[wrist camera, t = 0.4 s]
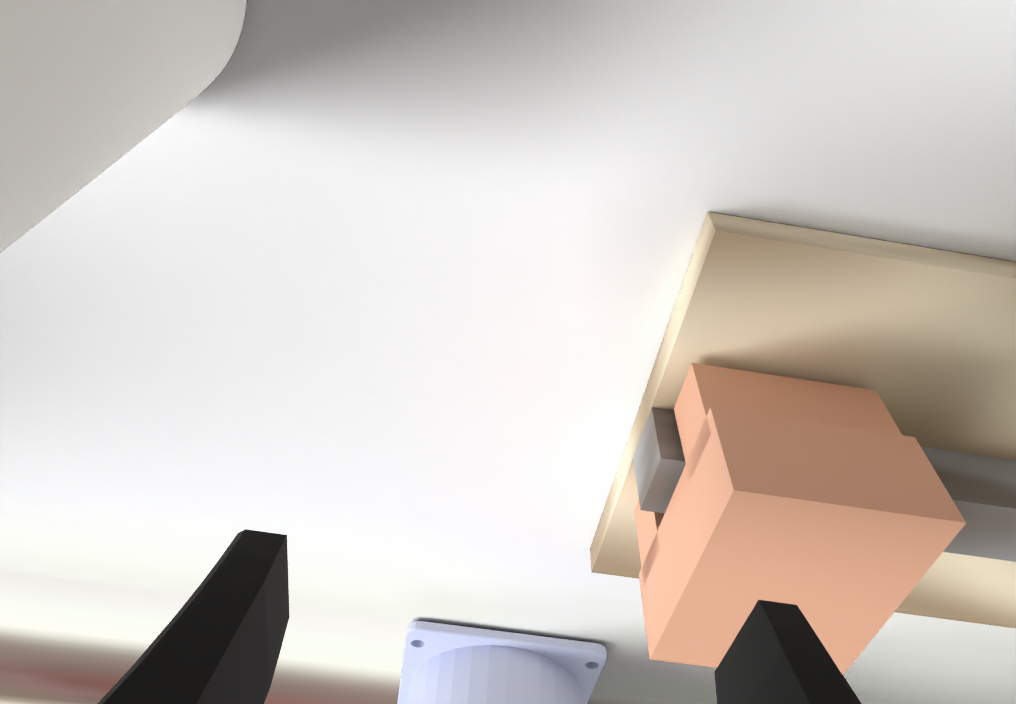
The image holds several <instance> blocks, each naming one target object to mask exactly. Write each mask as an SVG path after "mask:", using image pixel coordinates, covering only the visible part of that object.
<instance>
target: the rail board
mask: <svg viewBox="0 0 1016 704" xmlns="http://www.w3.org/2000/svg"><path fill="white" fill-rule="evenodd" d="M691 363H697V364H703V365H710V366H717V367H723V368H730V369H737V370H743V371H750V372H757V373H763V374H770V375H776V376H783V377H790V378H796V379H803V380H810V381H816V382H823V383H830V384H836V385H843V386H850V387H856V388H863V389H869V390H876V391H877V393H878V394H879V396H880V398H881V399H882V401H883V403H884V405H885V406H886V408H887V410H888V411H889V413H890V415H891V417H892V418H893V420H894V422H895V423H896V425H897V427H898V429H899V430H900V432H901V434H902V435H904V436H911V437H915V438H916V440H917V442H918V443H919V445H920V447H921V448H922V450H923V452H924V453H925V455H926V457H927V458H928V460H929V462H930V463H931V465H932V467H933V468H934V470H935V472H936V473H937V475H938V477H939V478H940V480H941V481H942V483H943V485H944V486H945V488H946V490H947V491H948V493H949V495H950V496H951V498H952V500H953V501H954V503H955V505H956V506H957V508H958V510H959V511H960V513H961V515H962V516H963V518H964V520H965V521H966V524H965V525H964V527H963V528H962V529H961V530H960V531H959V533H958V534H957V535H956V536H955V538H954V539H953V540H952V541H951V543H950V544H949V545H948V546H947V547H946V549H945V550H944V551H943V552H942V554H941V555H940V556H939V557H938V559H937V560H936V561H935V562H934V563H933V565H932V566H931V567H930V568H929V570H928V571H927V572H926V573H925V575H924V576H923V577H922V578H921V580H920V581H919V582H918V583H917V584H916V586H915V587H914V588H913V589H912V591H911V592H910V593H909V594H908V596H907V597H906V598H905V599H904V600H903V602H902V603H901V604H900V605H899V607H898V608H897V609H896V610H895V612H897V613H904V614H912V615H919V616H927V617H935V618H942V619H950V620H957V621H965V622H972V623H980V624H988V625H995V626H1003V627H1010V628H1016V262H1012V261H1006V260H999V259H993V258H987V257H981V256H975V255H969V254H963V253H957V252H950V251H944V250H938V249H932V248H926V247H920V246H914V245H908V244H901V243H895V242H889V241H883V240H877V239H871V238H865V237H859V236H852V235H846V234H840V233H834V232H828V231H822V230H816V229H810V228H803V227H797V226H791V225H785V224H779V223H773V222H767V221H761V220H754V219H748V218H742V217H736V216H730V215H724V214H718V213H712V212H708V213H707V215H706V218H705V221H704V224H703V227H702V230H701V233H700V235H699V238H698V241H697V244H696V247H695V250H694V253H693V255H692V258H691V261H690V264H689V267H688V270H687V273H686V276H685V278H684V281H683V284H682V287H681V290H680V293H679V296H678V298H677V301H676V304H675V307H674V310H673V313H672V316H671V318H670V321H669V324H668V327H667V330H666V333H665V336H664V339H663V341H662V344H661V347H660V350H659V353H658V356H657V359H656V361H655V364H654V367H653V370H652V373H651V376H650V379H649V381H648V384H647V387H646V390H645V393H644V396H643V399H642V402H641V404H640V407H639V410H638V413H637V416H636V419H635V422H634V424H633V427H632V430H631V433H630V436H629V439H628V442H627V444H626V447H625V450H624V453H623V456H622V459H621V462H620V465H619V467H618V470H617V473H616V476H615V479H614V482H613V485H612V487H611V490H610V493H609V496H608V499H607V502H606V505H605V507H604V510H603V513H602V516H601V519H600V522H599V525H598V528H597V530H596V533H595V536H594V539H593V542H592V545H591V548H590V552H591V568H592V572H594V573H602V574H609V575H617V576H624V577H632V578H639V573H640V570H641V568H642V567H641V559H640V551H639V544H638V536H637V528H636V521H635V513H634V510H635V507H636V505H637V502H638V500H639V503H640V510H643V511H650V512H657V513H665V512H666V510H667V507H668V505H669V503H670V500H671V498H672V495H673V493H674V491H675V488H676V486H677V484H678V481H679V479H680V477H681V474H682V472H683V470H684V467H685V465H686V462H685V458H684V453H683V448H682V444H681V439H680V435H679V430H678V426H677V421H676V417H675V412H674V407H675V404H676V402H677V399H678V397H679V394H680V391H681V389H682V386H683V384H684V381H685V378H686V376H687V373H688V371H689V368H690V366H691Z"/></svg>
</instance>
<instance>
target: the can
mask: <svg viewBox="0 0 1016 704" xmlns="http://www.w3.org/2000/svg"><path fill="white" fill-rule="evenodd" d="M246 1H247V0H0V253H1V252H2V251H3V250H5V249H6V248H7V247H8V246H10V245H11V244H12V243H13V242H15V241H16V240H17V239H19V238H20V237H21V236H22V235H24V234H25V233H26V232H27V231H29V230H30V229H31V228H33V227H34V226H35V225H36V224H38V223H39V222H40V221H41V220H43V219H44V218H45V217H46V216H48V215H49V214H50V213H52V212H53V211H54V210H55V209H57V208H58V207H59V206H60V205H62V204H63V203H64V202H65V201H67V200H68V199H69V198H70V197H72V196H73V195H74V194H76V193H77V192H78V191H79V190H81V189H82V188H83V187H84V186H86V185H87V184H88V183H89V182H91V181H92V180H93V179H95V178H96V177H97V176H98V175H100V174H101V173H102V172H103V171H105V170H106V169H107V168H108V167H110V166H111V165H112V164H113V163H115V162H116V161H117V160H118V159H120V158H121V157H122V156H123V155H125V154H126V153H127V152H128V151H130V150H131V149H132V148H133V147H135V146H136V145H137V144H138V143H140V142H141V141H142V140H143V139H145V138H146V137H147V136H148V135H150V134H151V133H152V132H153V131H155V130H156V129H157V128H158V127H160V126H161V125H162V124H163V123H165V122H166V121H167V120H168V119H170V118H171V117H172V116H173V115H175V114H176V113H177V112H178V111H180V110H181V109H182V108H183V107H184V106H186V105H187V104H188V103H189V102H190V101H192V100H193V99H194V98H195V97H196V96H198V95H199V94H200V93H201V92H202V91H203V90H204V89H205V88H207V87H208V86H209V85H210V84H211V83H212V82H213V81H214V80H215V78H216V77H217V76H218V75H219V74H220V73H221V71H222V70H223V69H224V67H225V66H226V64H227V63H228V61H229V59H230V58H231V56H232V54H233V52H234V50H235V48H236V45H237V43H238V40H239V37H240V34H241V31H242V27H243V22H244V17H245V11H246Z"/></svg>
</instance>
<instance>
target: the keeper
mask: <svg viewBox="0 0 1016 704" xmlns="http://www.w3.org/2000/svg"><path fill="white" fill-rule="evenodd" d="M674 412H675V417H676V421H677V426H678V430H679V435H680V439H681V444H682V448H683V453H684V458H685V462H686V465H685V467H684V470H683V472H682V474H681V477H680V479H679V481H678V484H677V486H676V488H675V491H674V493H673V495H672V498H671V500H670V503H669V505H668V507H667V510H666V512H665V513H657V512H650V511H643V510H640V503H639V500H638V502H637V505H636V507H635V510H634V513H635V521H636V528H637V536H638V544H639V551H640V559H641V567H642V568H641V570H640V573H639V579H640V587H641V595H642V603H643V611H644V619H645V627H646V635H647V643H648V651H649V659H651V660H659V661H666V662H674V663H682V664H690V665H698V666H706V667H714V668H717V667H718V666H719V664H720V662H721V661H722V659H723V657H724V656H725V654H726V653H727V651H728V649H729V648H730V646H731V644H732V643H733V641H734V639H735V638H736V636H737V634H738V633H739V631H740V629H741V628H742V626H743V624H744V623H745V621H746V620H747V618H748V616H749V615H750V613H751V611H752V610H753V608H754V606H755V605H756V603H757V601H758V600H765V601H772V602H779V603H787V604H794V605H797V606H798V607H799V609H800V610H801V612H802V613H803V615H804V616H805V618H806V619H807V621H808V622H809V624H810V626H811V627H812V629H813V630H814V632H815V633H816V635H817V636H818V638H819V639H820V641H821V642H822V644H823V646H824V647H825V649H826V650H827V652H828V653H829V655H830V656H831V658H832V659H833V661H834V663H835V664H836V666H837V667H838V669H839V670H840V672H841V673H842V675H843V674H844V673H845V672H846V671H847V669H848V668H849V667H850V666H851V665H852V663H853V662H854V661H855V660H856V658H857V657H858V656H859V655H860V653H861V652H862V651H863V650H864V649H865V647H866V646H867V645H868V644H869V642H870V641H871V640H872V639H873V637H874V636H875V635H876V634H877V632H878V631H879V630H880V629H881V628H882V626H883V625H884V624H885V623H886V621H887V620H888V619H889V618H890V616H891V615H892V614H893V613H894V612H895V610H896V609H897V608H898V607H899V605H900V604H901V603H902V602H903V600H904V599H905V598H906V597H907V596H908V594H909V593H910V592H911V591H912V589H913V588H914V587H915V586H916V584H917V583H918V582H919V581H920V580H921V578H922V577H923V576H924V575H925V573H926V572H927V571H928V570H929V568H930V567H931V566H932V565H933V563H934V562H935V561H936V560H937V559H938V557H939V556H940V555H941V554H942V552H943V551H944V550H945V549H946V547H947V546H948V545H949V544H950V543H951V541H952V540H953V539H954V538H955V536H956V535H957V534H958V533H959V531H960V530H961V529H962V528H963V527H964V525H965V524H966V521H965V520H964V518H963V516H962V515H961V513H960V511H959V510H958V508H957V506H956V505H955V503H954V501H953V500H952V498H951V496H950V495H949V493H948V491H947V490H946V488H945V486H944V485H943V483H942V481H941V480H940V478H939V477H938V475H937V473H936V472H935V470H934V468H933V467H932V465H931V463H930V462H929V460H928V458H927V457H926V455H925V453H924V452H923V450H922V448H921V447H920V445H919V443H918V442H917V440H916V438H915V437H911V436H904V435H902V434H901V432H900V430H899V429H898V427H897V425H896V423H895V422H894V420H893V418H892V417H891V415H890V413H889V411H888V410H887V408H886V406H885V405H884V403H883V401H882V399H881V398H880V396H879V394H878V393H877V391H876V390H869V389H863V388H856V387H850V386H843V385H836V384H830V383H823V382H816V381H810V380H803V379H796V378H790V377H783V376H776V375H770V374H763V373H757V372H750V371H743V370H737V369H730V368H723V367H717V366H710V365H703V364H697V363H691V366H690V368H689V371H688V373H687V376H686V378H685V381H684V384H683V386H682V389H681V391H680V394H679V397H678V399H677V402H676V404H675V407H674Z"/></svg>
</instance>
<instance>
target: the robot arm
mask: <svg viewBox="0 0 1016 704" xmlns="http://www.w3.org/2000/svg"><path fill="white" fill-rule="evenodd" d="M288 619H289V594H288V561H287V535H281V534H274V533H267V532H259V531H252V530H244V531H242V532H240V533H238V534H237V536H236V537H235V538H234V540H233V541H232V543H231V544H230V546H229V547H228V548H227V550H226V551H225V553H224V554H223V555H222V557H221V558H220V559H219V561H218V562H217V563H216V565H215V566H214V568H213V569H212V570H211V572H210V573H209V574H208V575H207V577H206V578H205V579H204V581H203V582H202V583H201V585H200V586H199V587H198V588H197V590H196V591H195V592H194V593H193V595H192V596H191V597H190V598H189V600H188V601H187V602H186V603H185V605H184V606H183V607H182V608H181V610H180V611H179V612H178V613H177V614H176V616H175V617H174V618H173V619H172V620H171V622H170V623H169V624H168V625H167V626H166V627H165V629H164V630H163V631H162V632H161V633H160V634H159V636H158V637H157V638H156V639H155V640H154V642H153V643H152V644H151V645H150V646H149V647H148V649H147V650H146V651H145V652H144V653H143V654H142V656H141V657H140V658H139V659H138V660H137V661H136V663H135V664H134V665H133V666H132V667H131V668H130V669H129V670H128V671H127V673H126V674H125V675H124V676H123V677H122V678H121V679H120V680H119V681H118V682H117V683H116V684H115V686H114V687H113V688H112V689H111V690H110V691H109V692H108V693H107V694H106V695H105V696H104V697H103V698H102V699H101V701H100V702H99V703H98V704H264V702H265V699H266V696H267V694H268V691H269V688H270V686H271V682H272V678H273V675H274V671H275V668H276V664H277V660H278V657H279V653H280V649H281V646H282V642H283V638H284V634H285V631H286V627H287V623H288ZM606 660H607V649H606V648H605V647H604V646H603V645H601V644H598V643H591V642H584V641H576V640H568V639H560V638H552V637H544V636H536V635H528V634H520V633H512V632H504V631H496V630H489V629H481V628H473V627H465V626H457V625H449V624H441V623H433V622H425V621H414V622H411V623H410V624H409V625H408V627H407V632H406V639H405V647H404V655H403V663H402V671H401V679H400V687H399V696H398V704H588V702H589V699H590V697H591V695H592V692H593V690H594V688H595V685H596V683H597V681H598V678H599V676H600V674H601V672H602V669H603V667H604V665H605V662H606ZM715 681H716V693H717V704H861V702H860V701H859V699H858V698H857V696H856V695H855V693H854V692H853V690H852V689H851V687H850V686H849V684H848V682H847V681H846V679H845V678H844V676H843V675H842V673H841V672H840V670H839V669H838V667H837V666H836V664H835V663H834V661H833V659H832V658H831V656H830V655H829V653H828V652H827V650H826V649H825V647H824V646H823V644H822V642H821V641H820V639H819V638H818V636H817V635H816V633H815V632H814V630H813V629H812V627H811V626H810V624H809V622H808V621H807V619H806V618H805V616H804V615H803V613H802V612H801V610H800V609H799V607H798V606H797V605H794V604H787V603H779V602H772V601H765V600H758V601H757V603H756V605H755V606H754V608H753V610H752V611H751V613H750V615H749V616H748V618H747V620H746V621H745V623H744V624H743V626H742V628H741V629H740V631H739V633H738V634H737V636H736V638H735V639H734V641H733V643H732V644H731V646H730V648H729V649H728V651H727V653H726V654H725V656H724V657H723V659H722V661H721V662H720V664H719V666H718V667H717V669H716V671H715Z"/></svg>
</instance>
